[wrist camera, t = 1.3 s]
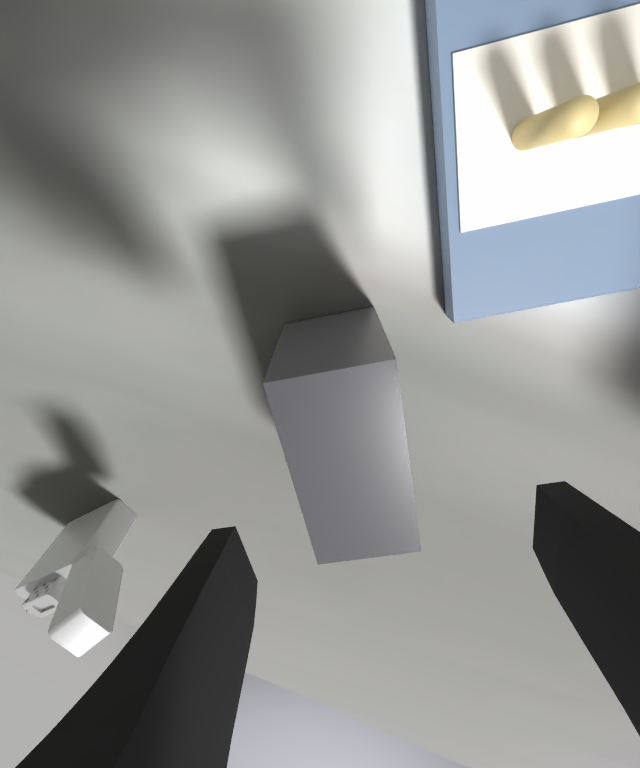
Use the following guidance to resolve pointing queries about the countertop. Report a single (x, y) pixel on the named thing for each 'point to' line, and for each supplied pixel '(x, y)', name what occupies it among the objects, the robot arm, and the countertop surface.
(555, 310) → the countertop surface
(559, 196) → the header board
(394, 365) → the block
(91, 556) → the lighter
